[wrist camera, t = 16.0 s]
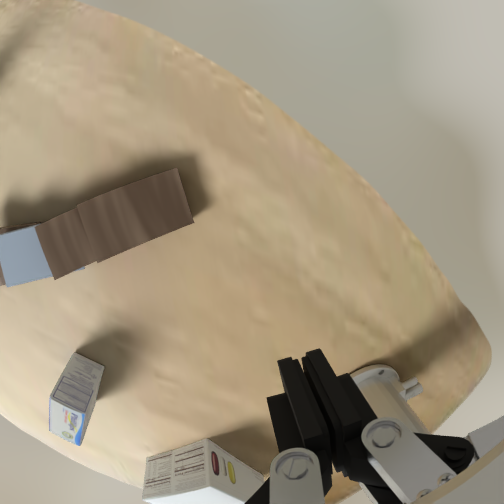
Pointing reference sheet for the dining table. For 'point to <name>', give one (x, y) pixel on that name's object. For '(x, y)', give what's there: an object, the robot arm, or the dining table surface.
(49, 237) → the domino
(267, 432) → the dining table surface
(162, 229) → the domino
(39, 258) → the domino
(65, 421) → the medicine box
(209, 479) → the supplement box
